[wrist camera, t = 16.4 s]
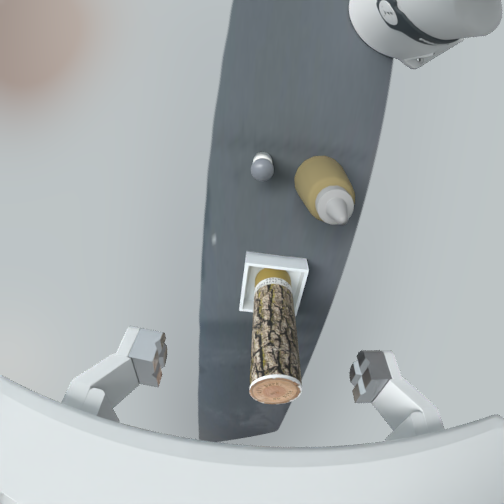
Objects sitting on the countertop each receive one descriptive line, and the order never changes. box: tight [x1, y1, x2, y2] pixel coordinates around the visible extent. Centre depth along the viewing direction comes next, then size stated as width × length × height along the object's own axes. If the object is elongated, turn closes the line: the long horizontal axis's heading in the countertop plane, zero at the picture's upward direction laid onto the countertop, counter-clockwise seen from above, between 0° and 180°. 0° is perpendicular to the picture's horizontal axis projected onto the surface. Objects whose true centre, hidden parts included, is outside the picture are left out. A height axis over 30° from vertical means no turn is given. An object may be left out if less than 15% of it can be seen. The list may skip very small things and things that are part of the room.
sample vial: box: [251, 152, 274, 181], centre depth 43 cm, size 3×3×6 cm
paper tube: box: [249, 268, 302, 404], centre depth 46 cm, size 7×7×25 cm
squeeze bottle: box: [295, 156, 355, 225], centre depth 39 cm, size 8×8×18 cm
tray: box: [239, 251, 309, 317], centre depth 56 cm, size 11×11×4 cm
